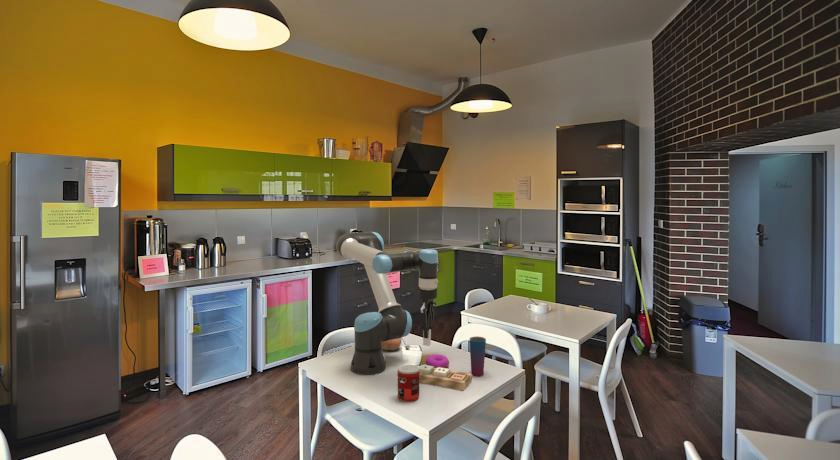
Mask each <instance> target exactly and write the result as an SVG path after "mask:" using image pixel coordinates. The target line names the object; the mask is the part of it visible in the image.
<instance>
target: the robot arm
mask: <svg viewBox="0 0 840 460" xmlns="http://www.w3.org/2000/svg"><path fill="white" fill-rule="evenodd" d="M335 249H336V252H337V253H338V255H340V257H342V258H343V259H348V260H351V259H353V260H355V261H358V262H359V263H360V264H363V265H364V269H365V272H366V274H367V278H368V281H369V283H370V288H371V290H372V292H373V295H374V299H375V301H376V304H377V308H378V311H371V312H369V311H368V312H365V313H361V314H359V315H358V316H356V318H354V319H355V320H354V325H353V326H354V327H353V329H354V352H353V356H352V359H351V362H350V370H351V372H353V373H355V374H358V375H375V374H378V373H379V374H380V373H381V372H384V371H385V370H386V368H387V362H386V359H385V355H384V353H383V348H382V342H384V341H389V340H393V339H397V338H398V339H399V338H401V339H402V338H404V337H406V336H409V334H410V333H411V331H412V327H413V326H412V325H413V319H412V315H411V313H410V312H409V311H408V310H405V309H403V306H402V305H401V304H400V303H398V302H397V300H396V297H395V294H394V291H393V288H392V286H391V283H390V280H389V278H388V277H389V276H388V274H390V273H397V272H398V273H399V272H408V271H415V272H418V287H419V288H418V298H420V299H421V305H420V306H421V307H419V308H418V312H419V320H420V321H419V322H420V330H422V331H423V333H422V336H423V337H422V345H423V346H425V347H426V346H427V347H430V346H431V344H432V343H431V341H432V339H431V338H432V330H434V320H435V311H436V310H435V309H436V305H437V303H436V301H435V300H436V299H437V298H438V289H437V288H438V283H439V280H438V277H439V276H438V275H439V274H438V273H439V253H438V250H437V249H430V248H429V249H428V248H425V249H424V248H423V249H420V250H419V252H416V251H413V250H404V251H403V252H397V253H387V252H385V251H384V250H385V242H384V239H383V237H382V235H381V234H380V233H378V232H375V231H365V232H364V231H361V232H347V233H344V234H342V235H341V236H339V238H338V239H337V241H336V244H335Z"/></svg>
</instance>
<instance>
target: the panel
mask: <svg viewBox="0 0 840 460" xmlns="http://www.w3.org/2000/svg"><path fill="white" fill-rule="evenodd" d="M436 369H437V368H434V370H436ZM454 373H455V374H461V375H466V378H465V379H464V380H463V381H462V380H456V379H451V378H450V377H451V376H452V375H453V374H454ZM472 377H473V375H472V374H471V373H469V372H462V371H457V370H450V374H449V375H448V376H447V377H446V378H445V377H439V376H434V371H433V372H432V373H431V374H430V375H427V374H422V373H419V384H424V385H431V386H435V387H442V388H447V389H451V390H452V389H453V390H459V391H464V390H466V388H467V387H468V386H469V385H470V384H471V383H472Z"/></svg>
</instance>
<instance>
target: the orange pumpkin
mask: <svg viewBox="0 0 840 460" xmlns="http://www.w3.org/2000/svg"><path fill="white" fill-rule="evenodd" d="M401 345H402V338H399V339H398V338H397V339H393V340H389V341H384V342H382V350H383V349H384V350H385V351H389V350H391V351H395V350H397V349H399V348H401V347H400V346H401Z"/></svg>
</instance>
